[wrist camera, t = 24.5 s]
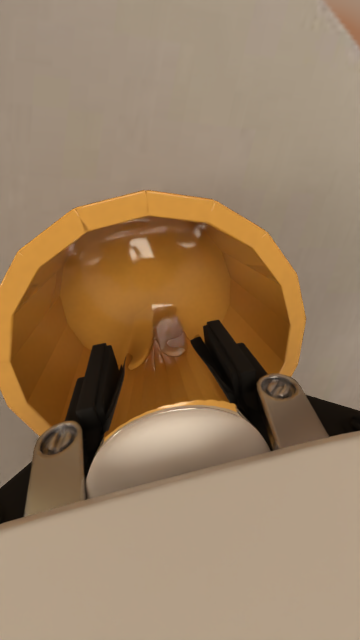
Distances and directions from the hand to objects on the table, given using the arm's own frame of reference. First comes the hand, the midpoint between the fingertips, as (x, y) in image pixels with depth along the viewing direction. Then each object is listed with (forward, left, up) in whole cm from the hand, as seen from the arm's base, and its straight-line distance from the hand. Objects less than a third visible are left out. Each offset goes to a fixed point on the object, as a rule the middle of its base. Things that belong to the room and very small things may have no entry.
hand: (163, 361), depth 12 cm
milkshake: (0, 0, -2) cm, 2 cm away
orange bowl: (0, 0, -8) cm, 8 cm away
